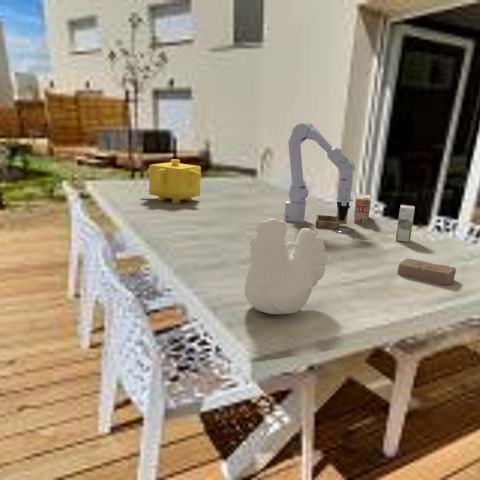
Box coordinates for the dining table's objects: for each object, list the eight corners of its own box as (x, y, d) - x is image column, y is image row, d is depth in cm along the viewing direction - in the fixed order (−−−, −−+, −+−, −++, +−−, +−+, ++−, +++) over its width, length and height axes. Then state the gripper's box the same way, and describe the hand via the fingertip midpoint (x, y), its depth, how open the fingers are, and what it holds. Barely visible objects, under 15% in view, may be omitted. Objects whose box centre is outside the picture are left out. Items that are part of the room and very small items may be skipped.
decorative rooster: (255, 326, 125) (261, 227, 118) (233, 301, 139) (237, 212, 132) (343, 315, 134) (354, 223, 127) (314, 293, 148) (322, 209, 141)
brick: (396, 275, 168) (398, 261, 167) (404, 269, 175) (406, 256, 174) (448, 287, 159) (450, 273, 158) (454, 280, 166) (457, 267, 165)
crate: (315, 228, 224) (316, 220, 223) (316, 222, 236) (316, 214, 235) (338, 230, 222) (339, 222, 221) (338, 223, 234) (338, 216, 233)
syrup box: (410, 239, 213) (415, 205, 209) (409, 243, 207) (414, 208, 204) (396, 237, 215) (400, 204, 211) (395, 241, 209) (400, 206, 205)
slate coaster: (331, 234, 215) (331, 232, 215) (331, 228, 225) (331, 227, 225) (356, 236, 214) (356, 235, 214) (354, 230, 223) (354, 229, 223)
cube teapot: (217, 200, 274) (219, 160, 268) (182, 208, 250) (183, 165, 244) (167, 191, 292) (167, 154, 286) (130, 198, 267) (129, 157, 262)
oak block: (336, 223, 226) (337, 209, 224) (336, 221, 230) (337, 207, 228) (346, 224, 225) (348, 209, 223) (346, 222, 229) (347, 207, 227)
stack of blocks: (353, 215, 255) (356, 190, 252) (366, 216, 254) (369, 191, 251) (354, 224, 235) (356, 198, 232) (368, 225, 234) (371, 199, 230)
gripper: (354, 192, 216) (351, 223, 219) (353, 186, 230) (350, 216, 233) (338, 190, 217) (335, 222, 220) (337, 185, 231) (334, 214, 234)
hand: (341, 218), depth 227 cm, fingers closed on oak block, 4 cm apart
